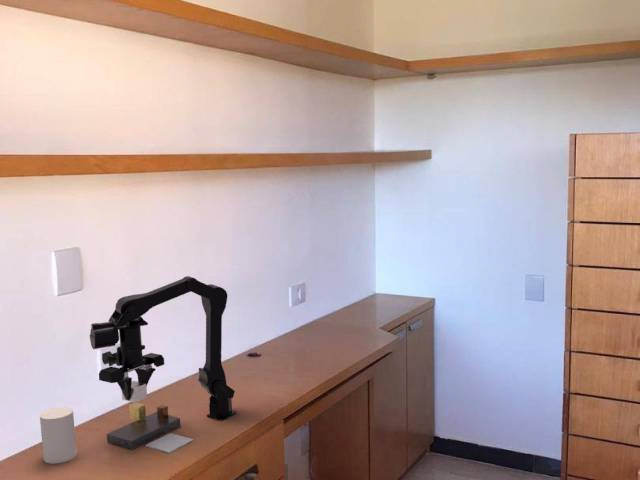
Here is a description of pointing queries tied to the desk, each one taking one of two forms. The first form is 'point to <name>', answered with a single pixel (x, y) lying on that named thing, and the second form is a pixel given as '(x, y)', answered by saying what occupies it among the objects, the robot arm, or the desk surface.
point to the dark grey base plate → (144, 429)
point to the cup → (58, 435)
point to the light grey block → (137, 392)
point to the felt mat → (169, 443)
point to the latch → (137, 411)
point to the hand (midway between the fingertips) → (134, 397)
